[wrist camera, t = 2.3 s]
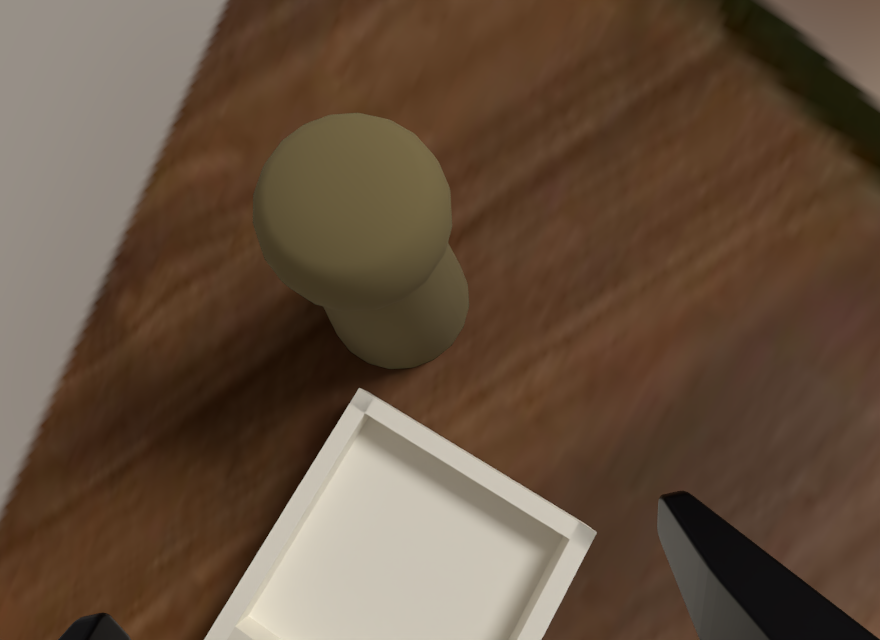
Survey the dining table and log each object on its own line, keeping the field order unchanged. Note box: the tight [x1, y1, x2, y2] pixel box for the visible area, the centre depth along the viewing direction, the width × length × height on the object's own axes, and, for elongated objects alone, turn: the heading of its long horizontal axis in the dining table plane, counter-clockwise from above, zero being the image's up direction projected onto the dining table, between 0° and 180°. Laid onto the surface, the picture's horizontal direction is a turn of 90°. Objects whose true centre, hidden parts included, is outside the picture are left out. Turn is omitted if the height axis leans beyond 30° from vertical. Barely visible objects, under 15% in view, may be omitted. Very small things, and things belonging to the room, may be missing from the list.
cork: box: [253, 113, 469, 369], centre depth 19 cm, size 6×6×11 cm
